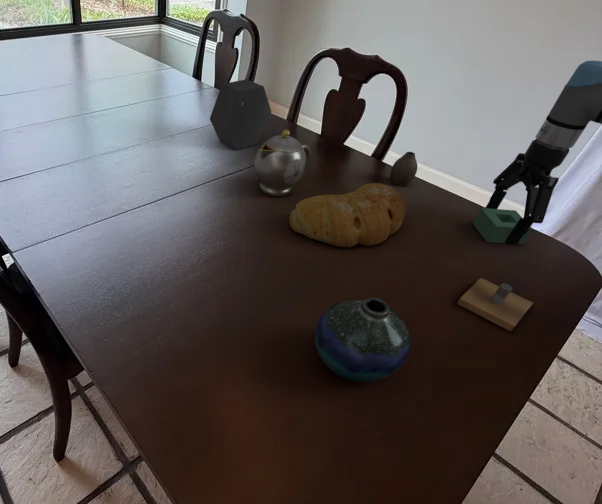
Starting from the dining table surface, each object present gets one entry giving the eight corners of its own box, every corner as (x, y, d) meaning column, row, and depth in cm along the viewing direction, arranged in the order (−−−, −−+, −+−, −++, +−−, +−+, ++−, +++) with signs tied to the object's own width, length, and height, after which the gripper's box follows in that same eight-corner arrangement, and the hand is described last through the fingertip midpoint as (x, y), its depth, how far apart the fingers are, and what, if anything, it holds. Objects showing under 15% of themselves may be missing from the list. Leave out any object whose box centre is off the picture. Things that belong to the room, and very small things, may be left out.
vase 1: (373, 330, 85) (400, 274, 75) (410, 393, 74) (446, 338, 64) (297, 333, 83) (314, 277, 73) (323, 399, 72) (347, 343, 63)
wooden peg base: (477, 282, 97) (489, 264, 94) (529, 308, 92) (544, 289, 88) (456, 303, 92) (468, 284, 88) (510, 331, 87) (525, 312, 83)
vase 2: (383, 182, 131) (394, 152, 125) (393, 175, 135) (404, 146, 128) (405, 190, 128) (417, 160, 121) (414, 183, 131) (427, 153, 125)
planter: (259, 117, 150) (241, 63, 132) (275, 125, 146) (258, 69, 128) (225, 153, 150) (202, 104, 132) (240, 162, 146) (219, 112, 128)
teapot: (268, 207, 116) (280, 144, 105) (239, 185, 124) (247, 124, 112) (319, 193, 123) (335, 133, 112) (288, 173, 131) (300, 115, 120)
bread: (326, 262, 100) (338, 223, 93) (277, 220, 112) (285, 182, 105) (426, 234, 111) (445, 197, 104) (372, 198, 123) (385, 163, 116)
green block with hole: (505, 225, 116) (515, 210, 113) (522, 244, 110) (532, 228, 107) (472, 223, 116) (481, 207, 113) (486, 242, 110) (496, 226, 107)
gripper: (509, 121, 106) (465, 202, 121) (566, 167, 88) (506, 255, 103) (540, 124, 106) (492, 204, 121) (602, 170, 88) (537, 257, 104)
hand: (498, 228), depth 112 cm, fingers open, 13 cm apart
